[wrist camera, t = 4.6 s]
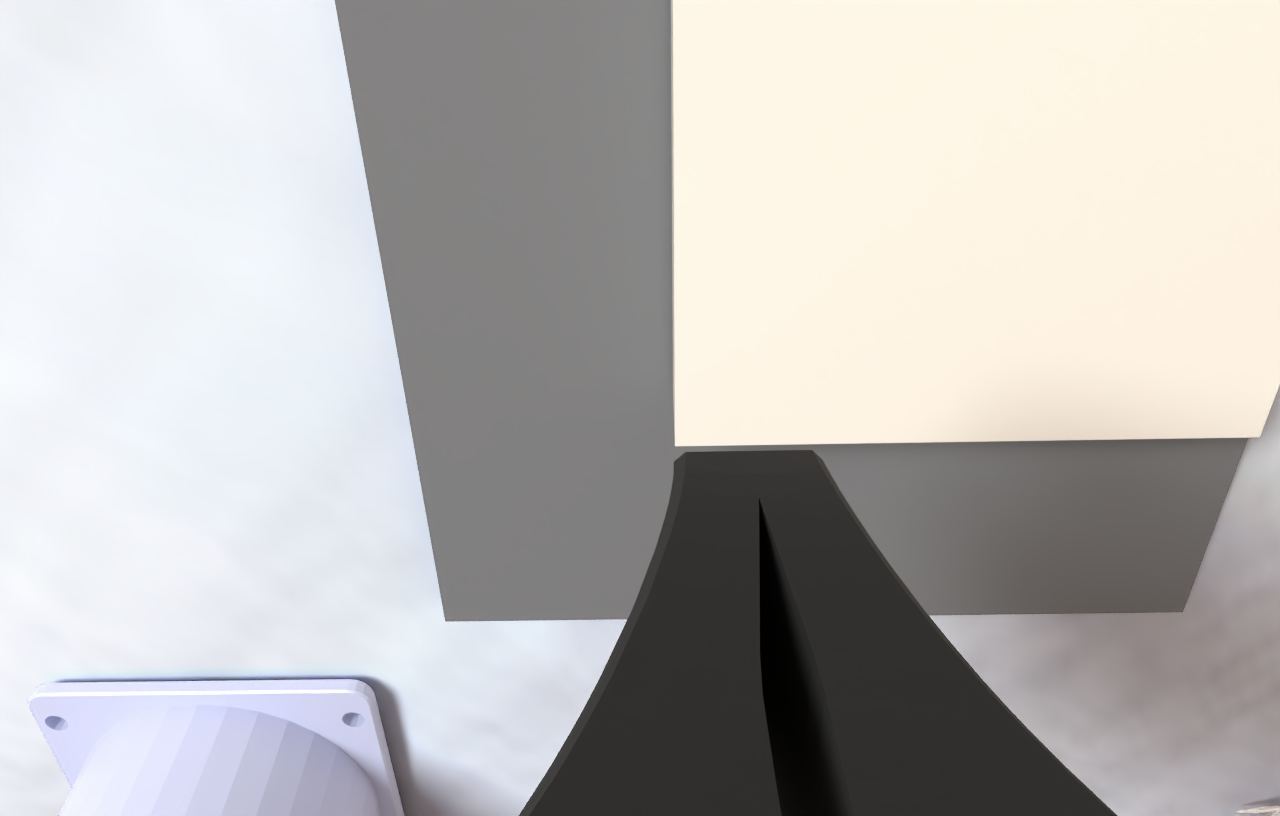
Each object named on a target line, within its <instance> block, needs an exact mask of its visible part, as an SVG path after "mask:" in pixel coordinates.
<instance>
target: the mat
mask: <svg viewBox="0 0 1280 816" xmlns="http://www.w3.org/2000/svg"><path fill="white" fill-rule="evenodd" d="M335 4H336V10H337V15H338V21H339V27H340V32H341V38H342V43H343V49H344V55H345V60H346V66H347V72H348V77H349V83H350V88H351V94H352V100H353V105H354V111H355V116H356V122H357V128H358V133H359V139H360V145H361V150H362V156H363V161H364V167H365V173H366V178H367V184H368V189H369V195H370V201H371V206H372V212H373V218H374V223H375V229H376V234H377V240H378V246H379V251H380V257H381V262H382V268H383V274H384V279H385V285H386V291H387V296H388V302H389V307H390V313H391V319H392V324H393V330H394V335H395V341H396V347H397V352H398V358H399V364H400V369H401V375H402V380H403V386H404V392H405V397H406V403H407V408H408V414H409V420H410V425H411V431H412V437H413V442H414V448H415V453H416V459H417V465H418V470H419V476H420V482H421V487H422V493H423V498H424V504H425V510H426V515H427V521H428V526H429V532H430V538H431V543H432V549H433V555H434V560H435V566H436V571H437V577H438V583H439V588H440V594H441V599H442V605H443V611H444V616H445V621H518V620H596V619H628V618H629V615H630V613H631V611H632V608H633V606H634V604H635V601H636V599H637V596H638V593H639V591H640V588H641V585H642V583H643V580H644V577H645V575H646V572H647V570H648V567H649V564H650V562H651V559H652V556H653V554H654V551H655V548H656V545H657V542H658V539H659V535H660V532H661V529H662V526H663V522H664V519H665V515H666V511H667V507H668V503H669V499H670V494H671V488H672V482H673V471H674V461H675V460H676V459H678V458H679V457H680V456H681V455H682V454H684V453H685V452H710V451H770V450H813V451H814V452H815V453H816V454H817V455H818V456H819V457H820V458H821V459H822V460H823V461H824V463H825V465H826V467H827V469H828V470H829V472H830V474H831V476H832V477H833V479H834V481H835V482H836V484H837V486H838V488H839V489H840V491H841V492H842V494H843V496H844V497H845V499H846V500H847V502H848V504H849V505H850V507H851V508H852V510H853V511H854V513H855V515H856V516H857V518H858V519H859V521H860V522H861V524H862V525H863V526H864V528H865V529H866V531H867V532H868V534H869V535H870V537H871V538H872V540H873V541H874V543H875V544H876V546H877V547H878V549H879V550H880V551H881V553H882V554H883V556H884V557H885V558H886V560H887V561H888V563H889V564H890V565H891V567H892V568H893V569H894V571H895V572H896V573H897V575H898V576H899V577H900V579H901V580H902V581H903V583H904V584H905V585H906V587H907V588H908V589H909V590H910V592H911V593H912V594H913V596H914V597H915V598H916V600H917V601H918V602H919V604H920V605H921V606H922V608H923V609H924V610H925V612H926V613H927V614H928V615H986V614H1064V613H1142V612H1183V610H1184V607H1185V604H1186V602H1187V599H1188V596H1189V594H1190V591H1191V588H1192V586H1193V583H1194V580H1195V578H1196V575H1197V572H1198V570H1199V567H1200V564H1201V562H1202V559H1203V556H1204V554H1205V551H1206V548H1207V546H1208V543H1209V540H1210V538H1211V535H1212V532H1213V530H1214V527H1215V524H1216V522H1217V519H1218V516H1219V514H1220V511H1221V508H1222V506H1223V503H1224V500H1225V498H1226V495H1227V492H1228V490H1229V487H1230V484H1231V482H1232V479H1233V476H1234V474H1235V471H1236V468H1237V466H1238V463H1239V460H1240V458H1241V455H1242V452H1243V450H1244V447H1245V444H1246V442H1247V439H1248V438H1183V439H1118V440H1053V441H988V442H923V443H858V444H793V445H728V446H675V435H674V408H673V310H672V129H671V0H335Z"/></svg>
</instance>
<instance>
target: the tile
mask: <svg viewBox="0 0 1280 816" xmlns="http://www.w3.org/2000/svg"><path fill="white" fill-rule="evenodd" d="M671 129H672V310H673V408H674V435H675V446H728V445H793V444H858V443H923V442H988V441H1053V440H1118V439H1183V438H1248V437H1260V435H1261V432H1262V430H1263V427H1264V425H1265V422H1266V419H1267V417H1268V414H1269V412H1270V409H1271V406H1272V404H1273V401H1274V398H1275V396H1276V393H1277V391H1278V388H1279V385H1280V0H671Z"/></svg>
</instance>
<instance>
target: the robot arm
mask: <svg viewBox="0 0 1280 816" xmlns="http://www.w3.org/2000/svg"><path fill="white" fill-rule="evenodd" d="M28 706H29V709H30V711H31V712H32V714H33V716H34V718H35V720H36V722H37V724H38V726H39V728H40V730H41V731H42V733H43V735H44V737H45V739H46V741H47V743H48V745H49V747H50V749H51V750H52V752H53V754H54V756H55V758H56V760H57V762H58V764H59V766H60V768H61V769H62V771H63V773H64V775H65V777H66V779H67V781H68V783H69V785H70V787H71V788H72V789H71V791H70V793H69V795H68V797H67V799H66V801H65V803H64V805H63V807H62V809H61V811H60V813H59V815H58V816H404V812H403V808H402V804H401V800H400V796H399V792H398V787H397V783H396V779H395V775H394V771H393V767H392V763H391V759H390V755H389V751H388V747H387V743H386V738H385V734H384V730H383V726H382V722H381V718H380V714H379V710H378V706H377V702H376V698H375V694H374V692H373V690H372V688H371V687H370V686H368V685H367V684H366V683H364V682H362V681H359V680H354V679H315V680H231V681H148V682H65V683H45V684H41V685H39V686H37V687H36V688H35V690H34V692H33V693H32V695H31V697H30V699H29V701H28ZM519 816H1117V815H1116V814H1115V813H1114V812H1113V811H1112V810H1111V809H1110V808H1109V807H1108V806H1107V805H1106V804H1104V803H1103V802H1102V801H1101V800H1100V799H1099V798H1098V797H1097V796H1096V795H1095V794H1094V793H1093V792H1092V791H1091V790H1090V789H1089V788H1087V787H1086V786H1085V785H1084V784H1083V783H1082V782H1081V781H1080V780H1079V779H1078V778H1077V777H1076V776H1075V775H1074V774H1073V773H1072V772H1070V771H1069V770H1068V769H1067V768H1066V767H1065V766H1064V765H1063V764H1062V763H1061V762H1060V761H1059V760H1058V759H1057V758H1056V757H1055V756H1054V755H1053V754H1052V753H1051V752H1050V751H1049V750H1048V749H1047V748H1046V747H1045V746H1044V745H1043V744H1042V743H1041V742H1040V741H1039V740H1038V739H1037V738H1036V737H1035V736H1034V735H1033V734H1032V733H1031V732H1030V731H1029V730H1028V729H1027V728H1026V727H1025V725H1024V724H1023V723H1022V722H1021V721H1020V720H1019V719H1018V718H1017V717H1016V716H1015V715H1014V714H1013V713H1012V712H1011V711H1010V710H1009V709H1008V707H1007V706H1006V705H1005V704H1004V703H1003V702H1002V701H1001V700H1000V699H999V698H998V697H997V695H996V694H995V693H994V692H993V691H992V690H991V689H990V688H989V687H988V685H987V684H986V683H985V682H984V681H983V680H982V679H981V678H980V676H979V675H978V674H977V673H976V672H975V671H974V669H973V668H972V667H971V666H970V665H969V664H968V662H967V661H966V660H965V659H964V658H963V657H962V655H961V654H960V653H959V652H958V651H957V650H956V648H955V647H954V646H953V645H952V644H951V643H950V641H949V640H948V639H947V638H946V636H945V635H944V634H943V633H942V632H941V630H940V629H939V628H938V627H937V625H936V624H935V623H934V622H933V620H932V619H931V618H930V617H929V615H928V614H927V613H926V612H925V610H924V609H923V608H922V606H921V605H920V604H919V602H918V601H917V600H916V598H915V597H914V596H913V594H912V593H911V592H910V590H909V589H908V588H907V587H906V585H905V584H904V583H903V581H902V580H901V579H900V577H899V576H898V575H897V573H896V572H895V571H894V569H893V568H892V567H891V565H890V564H889V563H888V561H887V560H886V558H885V557H884V556H883V554H882V553H881V551H880V550H879V549H878V547H877V546H876V544H875V543H874V541H873V540H872V538H871V537H870V535H869V534H868V532H867V531H866V529H865V528H864V526H863V525H862V524H861V522H860V521H859V519H858V518H857V516H856V515H855V513H854V511H853V510H852V508H851V507H850V505H849V504H848V502H847V500H846V499H845V497H844V496H843V494H842V492H841V491H840V489H839V488H838V486H837V484H836V482H835V481H834V479H833V477H832V476H831V474H830V472H829V470H828V469H827V467H826V465H825V463H824V461H823V460H822V459H821V458H820V457H819V456H818V455H817V454H816V453H815V452H814V451H813V450H770V451H710V452H685V453H684V454H682V455H681V456H680V457H679V458H678V459H676V460H675V461H674V471H673V482H672V488H671V494H670V499H669V503H668V507H667V511H666V515H665V519H664V522H663V526H662V529H661V532H660V535H659V539H658V542H657V545H656V548H655V551H654V554H653V556H652V559H651V562H650V564H649V567H648V570H647V572H646V575H645V577H644V580H643V583H642V585H641V588H640V591H639V593H638V596H637V599H636V601H635V604H634V606H633V608H632V611H631V613H630V615H629V618H628V620H627V622H626V624H625V626H624V628H623V630H622V632H621V635H620V637H619V639H618V641H617V643H616V645H615V647H614V649H613V652H612V654H611V656H610V658H609V660H608V662H607V664H606V666H605V669H604V671H603V673H602V675H601V677H600V679H599V681H598V683H597V685H596V687H595V689H594V690H593V692H592V694H591V696H590V698H589V700H588V702H587V704H586V706H585V707H584V709H583V711H582V713H581V715H580V717H579V718H578V720H577V722H576V724H575V726H574V727H573V729H572V731H571V733H570V734H569V736H568V738H567V739H566V741H565V743H564V744H563V746H562V748H561V750H560V751H559V753H558V755H557V756H556V758H555V760H554V762H553V763H552V765H551V766H550V768H549V770H548V771H547V773H546V775H545V776H544V778H543V779H542V781H541V782H540V784H539V785H538V787H537V788H536V790H535V792H534V793H533V795H532V796H531V798H530V799H529V801H528V802H527V804H526V805H525V807H524V809H523V810H522V812H521V813H520V815H519Z"/></svg>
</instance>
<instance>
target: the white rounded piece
mask: <svg viewBox="0 0 1280 816" xmlns="http://www.w3.org/2000/svg"><path fill="white" fill-rule="evenodd" d="M1240 812H1241V813H1246V812H1247V813H1254V814H1256V813H1264V812H1270V813H1268V814H1266V815H1264V816H1267V815H1270V814H1272V813H1274V812H1275V813H1274V814H1272V815H1271V816H1280V805H1277V806H1266V807H1258V808H1251V809H1246V810H1239V811H1236V812H1235V813H1240ZM1243 815H1245V814H1243ZM1240 816H1241V815H1240Z"/></svg>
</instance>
